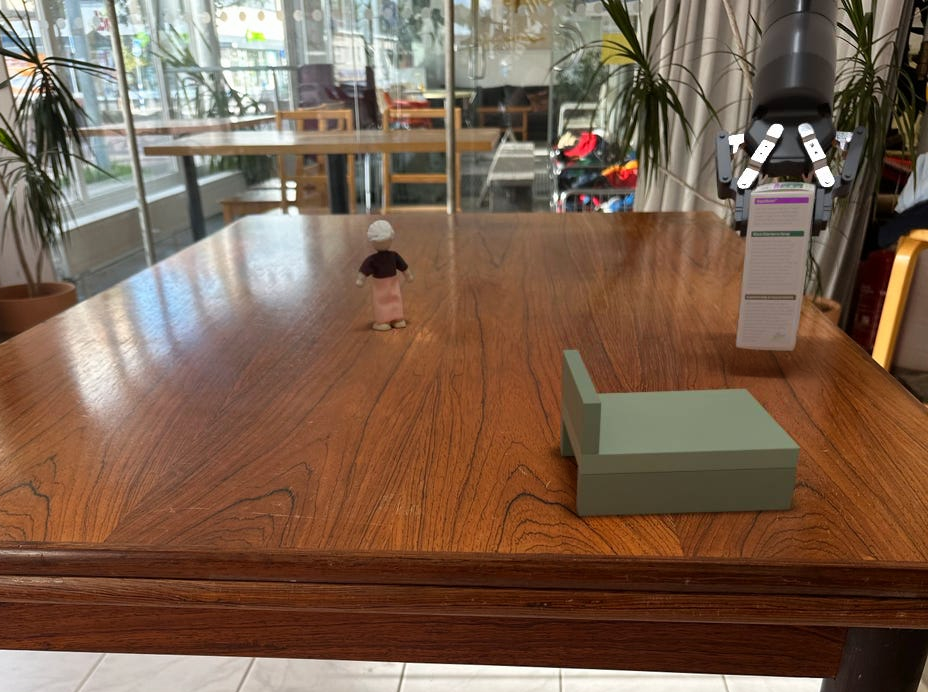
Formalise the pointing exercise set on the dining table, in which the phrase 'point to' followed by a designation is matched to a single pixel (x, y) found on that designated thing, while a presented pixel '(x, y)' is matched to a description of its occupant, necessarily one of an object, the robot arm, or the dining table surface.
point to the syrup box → (775, 265)
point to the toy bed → (672, 449)
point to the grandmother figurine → (384, 277)
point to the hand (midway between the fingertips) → (780, 230)
